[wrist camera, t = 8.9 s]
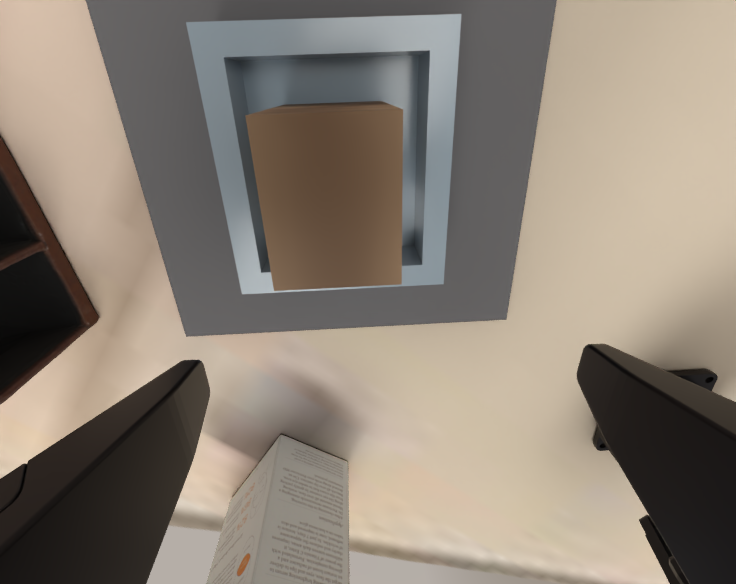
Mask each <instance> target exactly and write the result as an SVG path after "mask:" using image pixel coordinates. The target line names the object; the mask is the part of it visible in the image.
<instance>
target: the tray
mask: <svg viewBox="0 0 736 584" xmlns="http://www.w3.org/2000/svg"><path fill="white" fill-rule="evenodd" d="M186 25H187V30H188V34H189V39H190V44H191V49H192V54H193V59H194V64H195V68H196V73H197V78H198V83H199V88H200V93H201V98H202V102H203V107H204V112H205V117H206V122H207V127H208V131H209V136H210V141H211V146H212V151H213V156H214V161H215V165H216V170H217V175H218V180H219V185H220V190H221V195H222V199H223V204H224V209H225V214H226V219H227V224H228V229H229V233H230V238H231V243H232V248H233V253H234V258H235V263H236V267H237V272H238V277H239V282H240V287H241V292H242V294H259V293H279V292H299V291H319V290H339V289H358V288H378V287H398V286H418V285H438V284H444V270H445V255H446V240H447V225H448V210H449V195H450V180H451V165H452V149H453V134H454V119H455V104H456V89H457V74H458V59H459V44H460V29H461V14H443V15H410V16H376V17H343V18H309V19H276V20H243V21H209V22H186ZM365 101H383V102H385V103H388V104H391V105H393V106H396V107H398V108H401V109H403V188H402V284H401V285H382V286H362V287H343V288H323V289H304V290H284V291H274V288H273V282H272V276H271V270H270V264H269V258H268V251H267V245H266V239H265V233H264V227H263V221H262V215H261V209H260V203H259V196H258V190H257V184H256V178H255V172H254V166H253V160H252V154H251V147H250V141H249V135H248V129H247V123H246V117H245V115H249V114H252V113H256V112H260V111H263V110H267V109H270V108H274V107H277V106H281V105H285V104H312V103H339V102H365Z"/></svg>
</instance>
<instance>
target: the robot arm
mask: <svg viewBox="0 0 736 584" xmlns="http://www.w3.org/2000/svg"><path fill="white" fill-rule="evenodd" d="M577 380H578V383H579V385H580V387H581V390H582V392H583V394H584V396H585V398H586V401H587V403H588V405H589V407H590V409H591V411H592V414H593V416H594V418H595V420H596V422H597V425H598V428H597V431H596V434H595V437H594V440H593V444H594V446H595V447H596V449H597V450H599V451H604V450H609V451H610V452H611V454H612V455H613V456H614V458H615V459H616V460H617V462H618V463H619V465H620V467H621V468H622V470H623V472H624V473H625V475H626V477H627V479H628V480H629V482H630V484H631V485H632V487H633V489H634V490H635V492H636V494H637V495H638V497H639V499H640V501H641V502H642V504H643V506H644V507H645V509H646V511H647V512H648V514H649V515H646V516H644V517H642V518H641V519H639V521H640V523H641V525H642V527H643V529H644V531H645V533H646V538H647V540H648V542H649V544H650V546H651V548H652V550H653V552H654V553H655V555H656V557H657V559H658V561H659V563H660V565H661V567H662V569H663V571H664V573H665V575H666V577H667V579H668V581H669V583H670V584H736V402H734V401H732V400H730V399H727V398H725V397H723V396H721V395H718V394H716V393H714V392H712V389H713V387H714V384H715V382H716V380H717V375H716V374H715V373H713V372H712V371H711V370H693V371H676V372H667V371H665V370H662V369H660V368H658V367H656V366H654V365H651V364H649V363H647V362H645V361H642V360H640V359H638V358H636V357H633V356H631V355H629V354H627V353H624V352H622V351H620V350H618V349H616V348H613V347H611V346H609V345H606V344H588V345H586V346H585V347H584V349H583V352H582V356H581V359H580V363H579V366H578V370H577ZM209 397H210V387H209V383H208V379H207V376H206V372H205V368H204V365H203V363H202V361H200V360H184V361H181V362H179V363H178V364H176V365H175V366H173V367H172V368H170V369H169V370H167V371H166V372H164V373H163V374H161V375H159V376H158V377H156V378H155V379H153V380H152V381H150V382H149V383H147V384H146V385H144V386H143V387H141V388H139V389H138V390H136V391H135V392H133V393H132V394H130V395H129V396H127V397H126V398H124V399H123V400H121V401H119V402H118V403H116V404H115V405H113V406H112V407H110V408H109V409H107V410H106V411H104V412H103V413H101V414H99V415H98V416H96V417H95V418H93V419H92V420H90V421H89V422H87V423H86V424H84V425H83V426H81V427H80V428H78V429H76V430H75V431H73V432H72V433H70V434H69V435H67V436H66V437H64V438H63V439H61V440H60V441H58V442H56V443H55V444H53V445H52V446H50V447H49V448H47V449H46V450H44V451H43V452H41V453H40V454H38V455H36V456H35V457H33V458H32V459H30V460H29V461H28V463H27V464H22V465H21V466H19V467H18V468H16V469H15V470H13V471H12V472H10V473H9V474H7V475H6V476H4V477H3V478H1V479H0V584H146V583H147V580H148V577H149V575H150V572H151V570H152V567H153V564H154V562H155V559H156V556H157V554H158V551H159V548H160V546H161V543H162V541H163V538H164V535H165V533H166V530H167V527H168V525H169V522H170V520H171V517H172V514H173V512H174V509H175V507H176V504H177V501H178V499H179V496H180V493H181V491H182V488H183V485H184V483H185V480H186V478H187V475H188V472H189V470H190V467H191V464H192V461H193V458H194V455H195V452H196V448H197V444H198V440H199V436H200V433H201V429H202V425H203V421H204V417H205V413H206V409H207V405H208V401H209Z"/></svg>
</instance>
